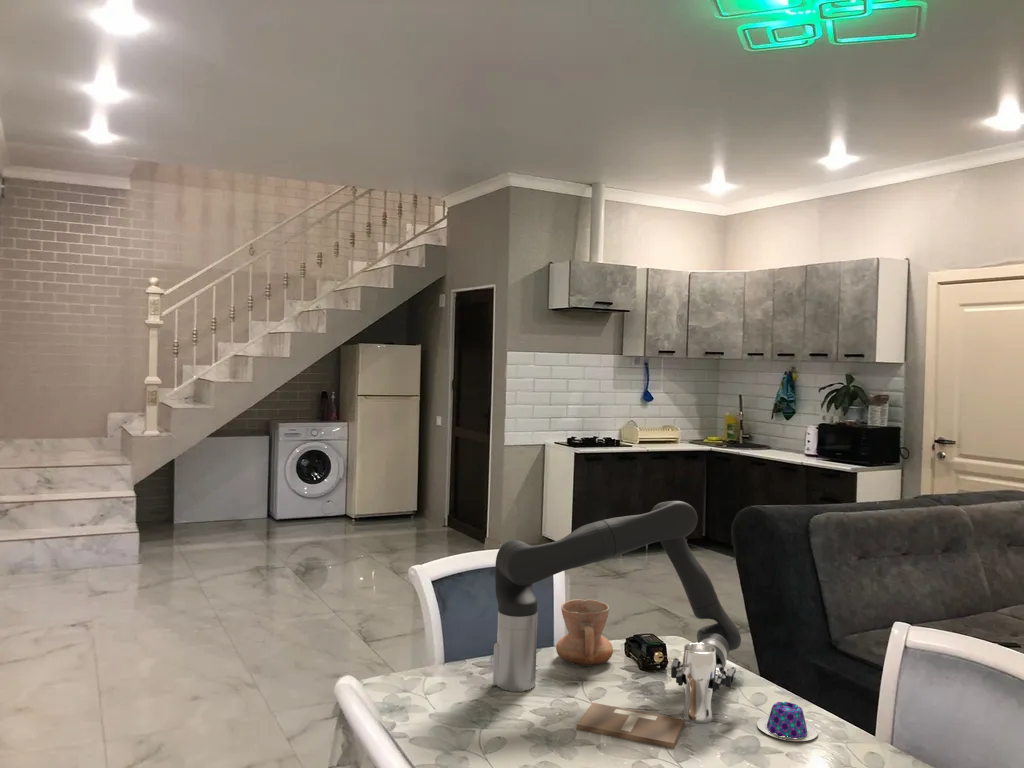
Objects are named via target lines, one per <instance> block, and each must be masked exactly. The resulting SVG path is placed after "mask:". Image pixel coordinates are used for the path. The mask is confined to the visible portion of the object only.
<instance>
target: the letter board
mask: <svg viewBox="0 0 1024 768" xmlns="http://www.w3.org/2000/svg"><path fill="white" fill-rule="evenodd" d="M685 720H686V719H685V718H679V717H673V716H667V715H662V714H656V713H651V712H646V711H640V710H634V709H629V708H625V707H619V706H614V705H613V706H612V705H608V704H602V703H596V702H592V703H591V704H590V705H589V707H588V708H587V709H586V711H585V712H584V713H583V714H582V716H581V717H580V719H579V720H578V721H577V722H576V724H575V725H576V726H575V729H576V730H581V731H586V732H591V733H595V734H601V735H606V736H610V737H616V738H621V739H626V740H629V741H635V742H641V743H645V744H649V745H656V746H662V747H665V748H670V749H674V748H675V747H676V744H677V742H678V740H679V738H680V735H681V733H682V731H683V728H684V726H685V724H686V722H685Z"/></svg>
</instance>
